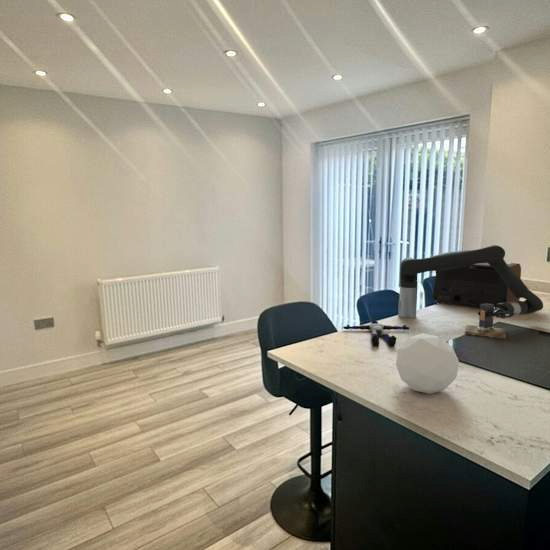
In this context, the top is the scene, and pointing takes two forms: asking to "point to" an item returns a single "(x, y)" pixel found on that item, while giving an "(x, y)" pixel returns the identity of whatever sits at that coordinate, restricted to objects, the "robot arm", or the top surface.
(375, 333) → the toy
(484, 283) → the radio
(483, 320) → the dark grey tall block
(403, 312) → the robot arm
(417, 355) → the geometric sphere
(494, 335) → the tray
